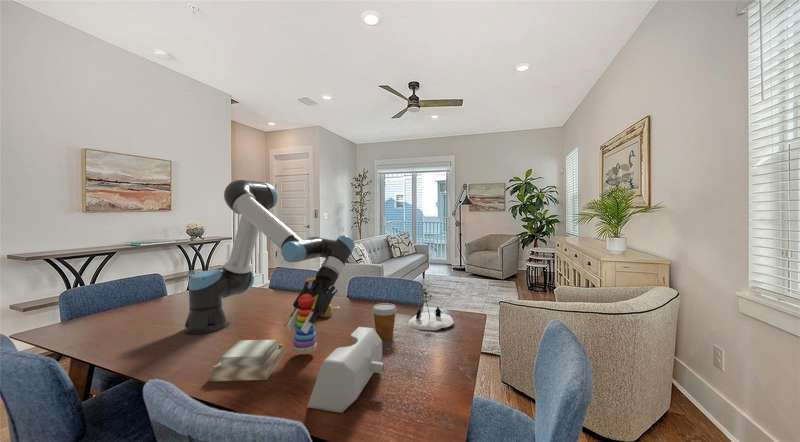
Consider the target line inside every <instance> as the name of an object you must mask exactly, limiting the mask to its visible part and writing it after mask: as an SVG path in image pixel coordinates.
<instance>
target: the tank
mask: <svg viewBox="0 0 800 442" xmlns="http://www.w3.org/2000/svg"><path fill="white" fill-rule="evenodd" d="M350 337H351V338H353V339H354V342H353V344H352V345H349V346H340V347H337V348H335V349H334V350H333V351H332V352H331V353H330V354H329V355H328V356H327V357H326V358H325V359H324V360H323V362H322V363H321V366H320V368H319V371H318V374H317V377H316V380H315V383H314V386H313V389H312V391H311V395H310V398H309V400H308V404H307V408H309V409H315V410H321V411H322V410H323V411H327V412H328V411H329V412H334V413H340V414H342V413H344V412H345V411H346V410H347V409H349V407H350V406H351V405H352V404H353V403H354V402H355V401H357V399H358V397H359V396H360V395H361V393H362V391H363V390H364V388H365V386H366V385H367V384H368V382H369V380H370V379H371V377H372V376H373V374H374V373H375V374H376V373H377V374H384V372H385V368H386V367H385V362H382V360H383V340H381V339H380V337H379V336H378V334H377V333H376V329H375V327H374V328H373V327H367V326H358V327H357V328H356V329H355V330H354V331H353V332H352V333H350Z"/></svg>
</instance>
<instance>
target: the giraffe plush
mask: <svg viewBox="0 0 800 442" xmlns="http://www.w3.org/2000/svg"><path fill="white" fill-rule="evenodd" d="M315 279H316V274H315V275H314V276H313V277H310V278H309V277H308V278H306V279H305V280H304V283H303V286H304V285H305V283H306V282H308V283H312V282H313V281H314V280H315ZM313 293H314V292H313ZM317 297H318V294H317V295H316V296H315V297H313V299H314V303H313V305H312V307H311V308H313V309H314V307H315V304H316V301H317ZM331 303H332V301H331V302H330V304H329V306H328V308H327V310H326V312H325V314H324V315H322V314H320V315H319V317H321V318H330V317H331V316H332V315H333V312H334V310H335V309H336V310H337V309H340V308H341V307H340V306H338V305H337V306H334V307H333V305H332V304H331ZM294 311H295V307H294V306H293V311H292V313H293V312H294ZM313 313H314V312H313Z"/></svg>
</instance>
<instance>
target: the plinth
mask: <svg viewBox="0 0 800 442" xmlns="http://www.w3.org/2000/svg"><path fill="white" fill-rule="evenodd" d="M277 341H278V340H277V339H245V340H238V341H237V342H236V343H234V345H232V347H230V348H229V349H228V350H227V351H226V352H225V353H223V355H221V356H220V361H219V362H218V363H217V364H216V365H213V366H212V369H210V370H209V382H228V381H229V382H233V381H236V382H237V381H261V380H262V381H265V380H266V381H267V380H268V379H269V378H270V376H271V375H272V373H273V372H274V370H275V369H276V368H277V366H278V365H279V363H280V362H281V361H282V359H283V358H284V357H285V355H286V354H285V353H286V350H285V349H286V347H285V345H284V344H283V343H280V344H278V345H277Z"/></svg>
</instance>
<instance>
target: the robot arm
mask: <svg viewBox="0 0 800 442" xmlns="http://www.w3.org/2000/svg"><path fill="white" fill-rule="evenodd" d="M223 198H224V202H225V204H226V205H227V207H229V209H230V210H231V211H232V212H234V213H235V214H237V215H240V217H239V218H240V219H239V223H238V226H237V230H236V233H235V237H234V241H233V244H232V248H231V252H230V256H229V259H228V261H227V262H225V263H224V264H223V267H222V271H221V270H220V269H209V270H202V271H199V272H196V273H194V274H192V275H191V276H190V277H189V279H188V301H189V302H188V305H189V306H188V307H189V312H188V315H187V318H186V321H185V324H184V332H185V334H188V335H201V334H208V333H212V332H216V331H218V330H219V331H220V330H221V329H223V328H225V327H227V325H228V318H227V316H226V314H225V311H224V309H223V299H225V298H229V297H233V296H235V295H240V294H243V293H245V292H247V291H249V290H250V289H251V288H252V287H253V285H254V283H255V276H254V271H253V270H252V267H251V265H250V263H251V261H252V256H253V254H254V253H253V252H254V249H255V246H256V242H257V238H258V235H259V232H261V233H262V234H263V235H264V236H265V237H266V238H267V239H269V240H270V241H271V242H272V243H274V244H275V245H276V246H277V247H278V248H279V249H280V253H281V256H282V259H283V260H284V261H285V262H288V263H300V262H303V261H306V260H311V259H315V258H316V259H317V258H325V259H324V261H323V263H322V264H321V266H320V268H319V269H318V270H317V273H316V274H315V275H316V279H315V280H314V281H313V282H312V283H308V282H306V283H305V285H304V284H303V288H302V289H301V290H300V293H298V295H297V297H296V299H295V300H294V302H293V303H292V306H293V308H294V307H295V311H294V310H293V311H294V312H293V311H292V314H291V316H290V317H291V318H290V319H289V321H288V323H287V324H286V327H287V328H288V329H289V330H291V331H293V330H295V329H294V328H296V326H297V325H296V322H297V321H298V320H297V316H298V315H299V314H298V310H299V309H300V308H301V307H300V306H299V304H298V300H299V298H300V296H302V295H303V294H310V295H311V296H312V297H315V296H316V295H317V294H318V297H317V301H316V304H315V307H314V309H312V310H313V312H314V313H313V312H312V311H311V312H310V314H309V316H308V317H307V319H306V321H305V323H304V324H303V326H302V328H301V330H302V331H303V332H304V333H305V334H307V332H308V330H309V329H310V327H311V325H312V324H313V323H314V322H316V320H317V319H318V317H319V316H320V314H322V315H324V314H325V312H326V310H327V308H328V306H329V304H330V302H331V303H332V300H333V298H334V296H335V294H337V292H338V289H337V288H336V286H334V285H335V284H336V282H337V280H338V279H339V276H340V274H341V273H342V271H343V269H344V267H345V265H346V264H347V261H348V260H349V258H350V256H351V255H352V253H353V251H354V248H355V247H356V246H355V245H356V244H355V241H354V240H353V239H352V238H351V237H350V236H348V235H344V234H343V235H339V236H338V237H337V238H336V239H328V238H325V237H319V236H308V238H306V239H303V238H301V237H299V235H298V234H296V232H294V231H292V230H291V229H290V228H289V227H288V226H286V225H285V224H284V223H283V222H282V221H281V220H279V219H278V218H277V217H276V216H275V215H274V214H273V213H272V212H270V210H271V209H272V208H273V207H275V206H276V204H277V203H278V193H277V191H276V189H275V187H274V186H273V185H272V184H270V183H268V182H263V181H254V180H247V179H246V180H245V179H236V180H234V181H232V182H230V183H228V184H227V185H226V187H225V190H224V193H223ZM313 292H314V293H313Z"/></svg>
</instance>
